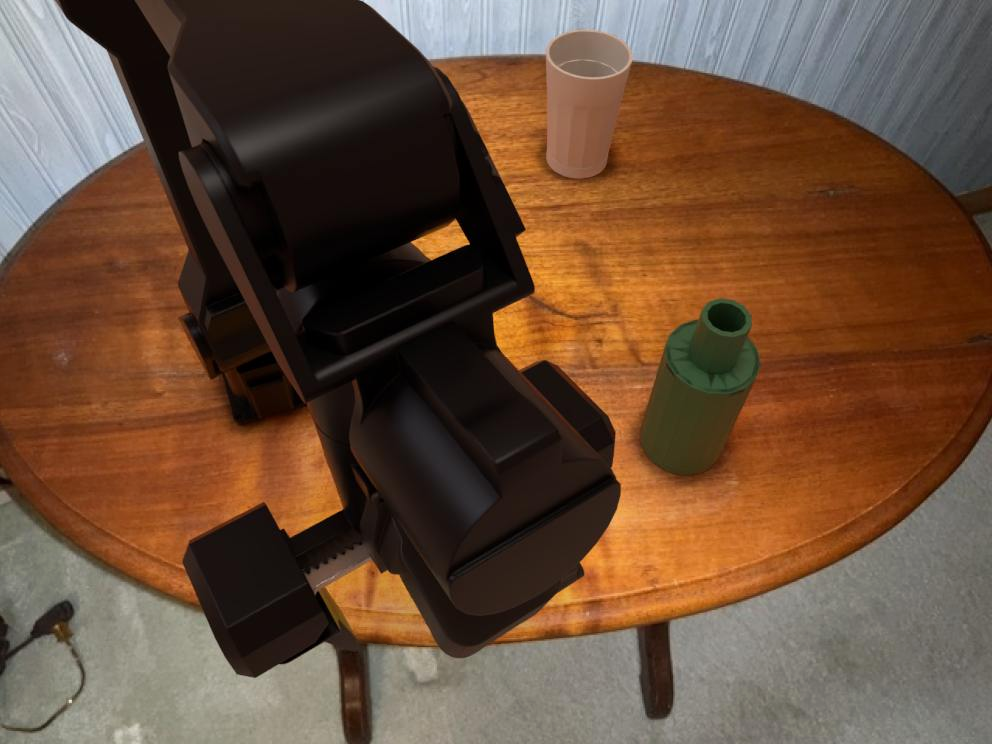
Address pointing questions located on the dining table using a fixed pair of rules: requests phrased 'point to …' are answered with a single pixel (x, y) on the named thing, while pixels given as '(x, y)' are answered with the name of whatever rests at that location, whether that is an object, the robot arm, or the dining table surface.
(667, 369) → the bottle
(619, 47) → the cup
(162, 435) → the dining table surface
